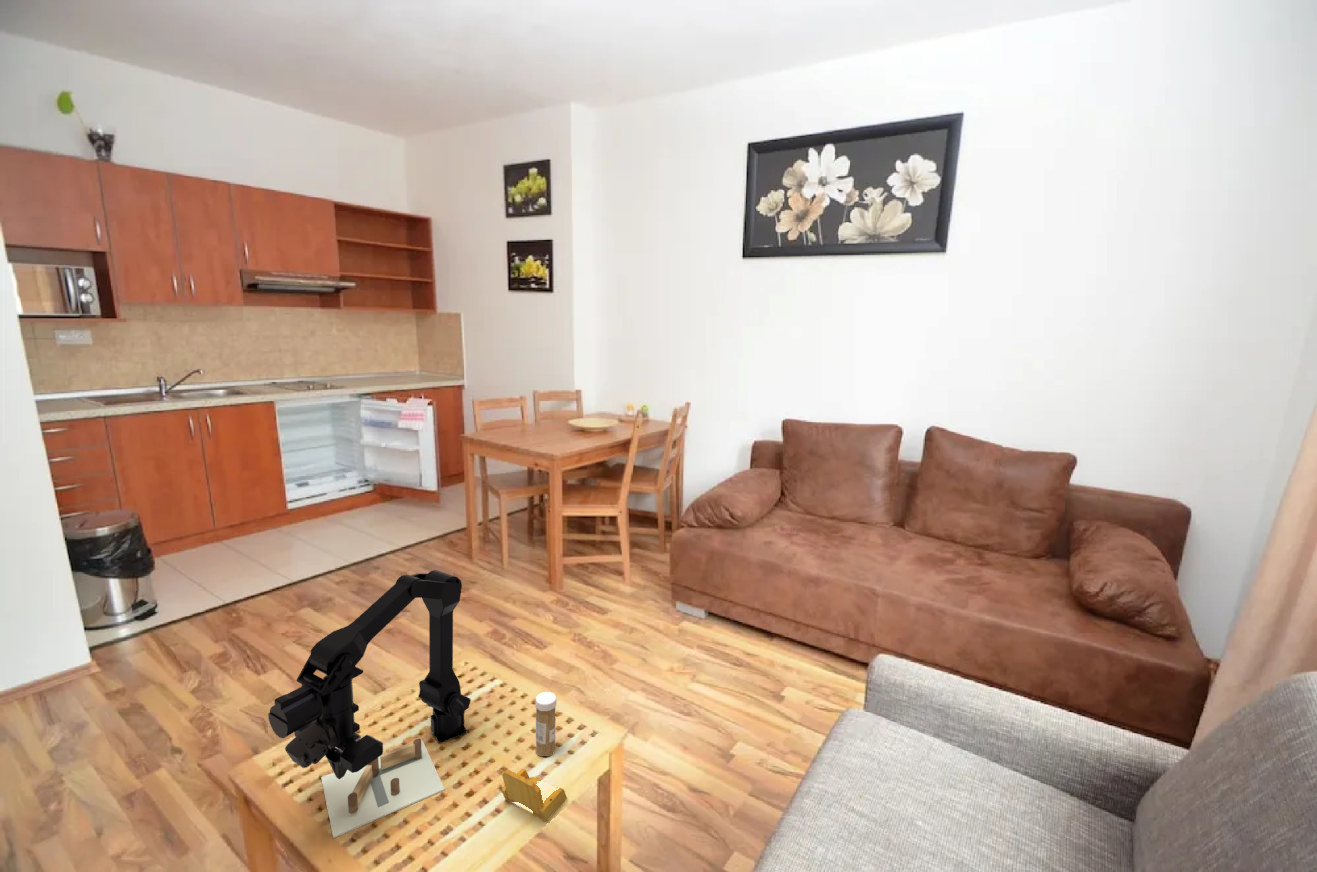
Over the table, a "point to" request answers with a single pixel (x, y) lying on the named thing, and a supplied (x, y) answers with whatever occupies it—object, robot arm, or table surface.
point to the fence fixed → (397, 761)
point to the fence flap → (359, 789)
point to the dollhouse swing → (530, 793)
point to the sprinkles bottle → (545, 723)
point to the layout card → (380, 792)
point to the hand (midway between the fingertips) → (340, 777)
